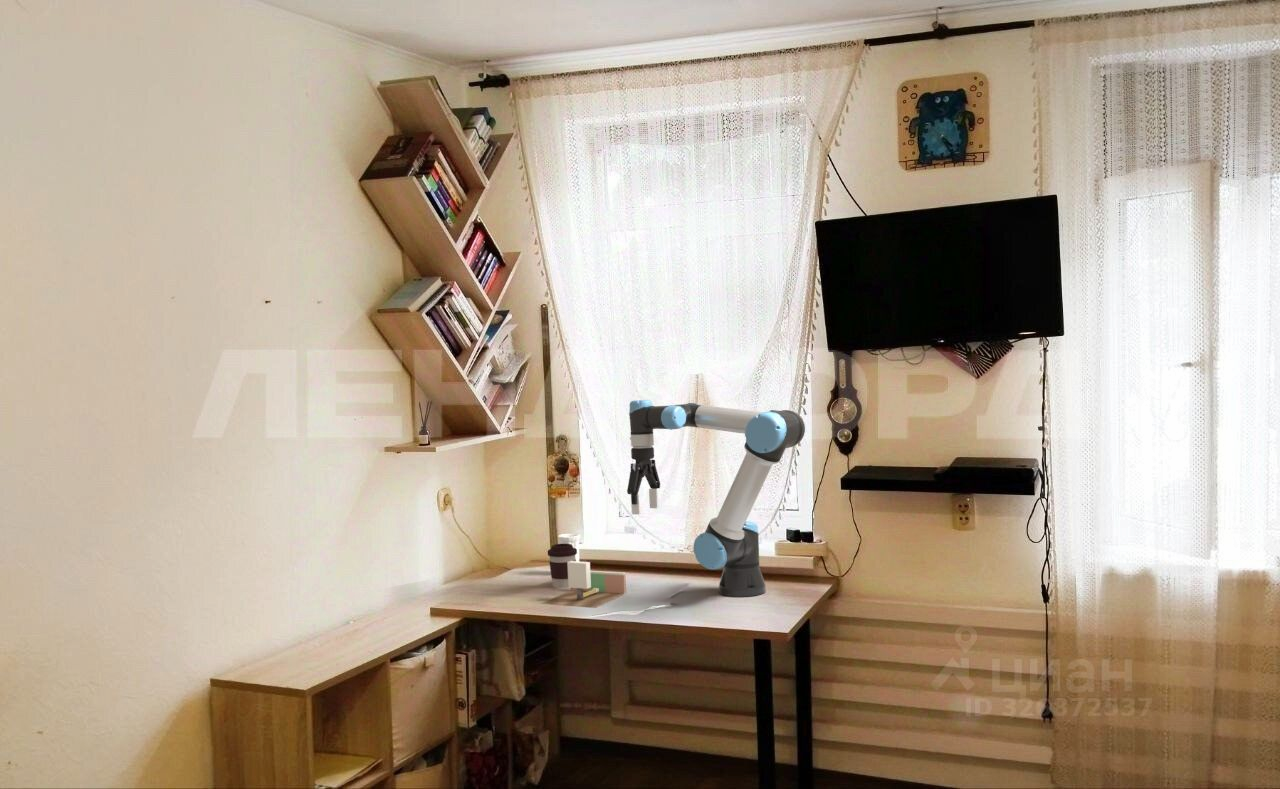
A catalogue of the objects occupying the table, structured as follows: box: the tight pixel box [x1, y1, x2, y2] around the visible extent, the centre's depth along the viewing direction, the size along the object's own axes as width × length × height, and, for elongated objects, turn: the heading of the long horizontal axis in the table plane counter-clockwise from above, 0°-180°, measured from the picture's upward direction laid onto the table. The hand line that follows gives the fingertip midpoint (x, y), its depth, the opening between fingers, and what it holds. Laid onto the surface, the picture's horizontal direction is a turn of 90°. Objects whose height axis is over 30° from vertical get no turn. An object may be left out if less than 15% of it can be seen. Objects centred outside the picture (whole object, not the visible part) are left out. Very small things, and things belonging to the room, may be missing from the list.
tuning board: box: [539, 589, 624, 609], centre depth 325 cm, size 20×21×1 cm
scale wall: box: [570, 570, 627, 595], centre depth 334 cm, size 20×1×7 cm, turn 64°
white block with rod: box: [567, 560, 599, 601], centre depth 326 cm, size 11×7×12 cm, turn 150°
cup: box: [557, 533, 581, 561], centre depth 369 cm, size 8×8×14 cm
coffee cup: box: [547, 543, 577, 589], centre depth 345 cm, size 10×10×15 cm
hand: (645, 511), depth 335 cm, fingers open, 13 cm apart
